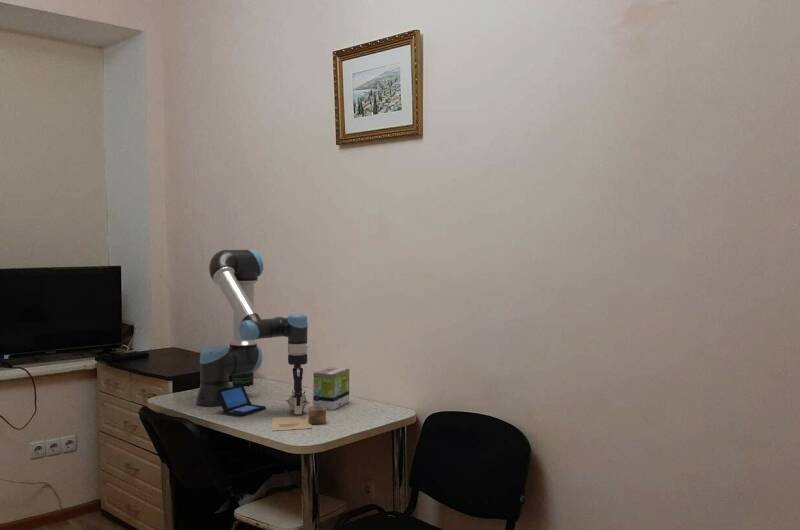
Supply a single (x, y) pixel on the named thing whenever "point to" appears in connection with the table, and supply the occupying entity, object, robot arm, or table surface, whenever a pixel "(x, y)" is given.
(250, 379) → the storage jar
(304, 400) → the grey spiky ornament
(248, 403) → the handheld game console
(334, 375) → the tea box
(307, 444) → the table surface
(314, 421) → the walnut block
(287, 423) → the envelope
